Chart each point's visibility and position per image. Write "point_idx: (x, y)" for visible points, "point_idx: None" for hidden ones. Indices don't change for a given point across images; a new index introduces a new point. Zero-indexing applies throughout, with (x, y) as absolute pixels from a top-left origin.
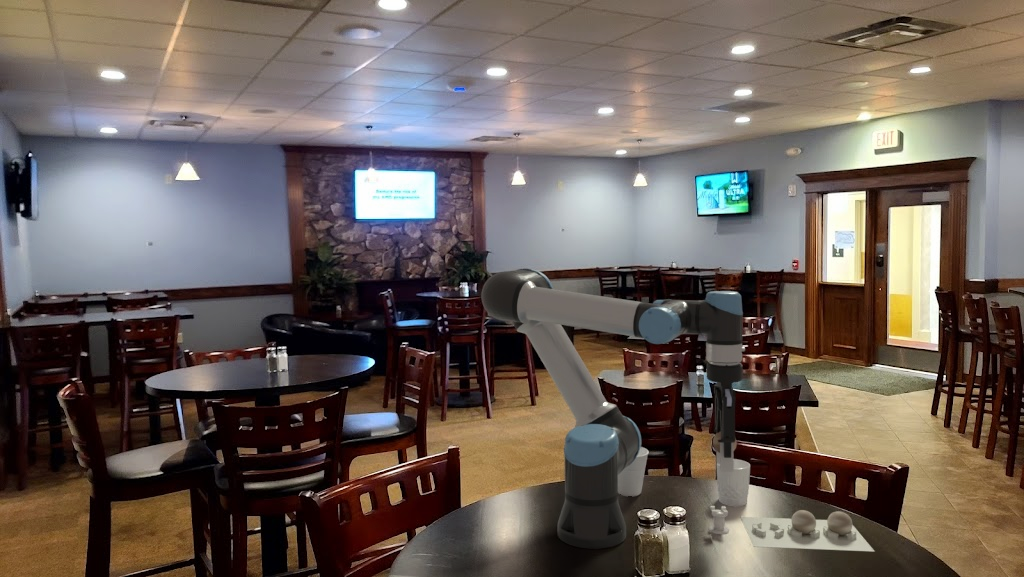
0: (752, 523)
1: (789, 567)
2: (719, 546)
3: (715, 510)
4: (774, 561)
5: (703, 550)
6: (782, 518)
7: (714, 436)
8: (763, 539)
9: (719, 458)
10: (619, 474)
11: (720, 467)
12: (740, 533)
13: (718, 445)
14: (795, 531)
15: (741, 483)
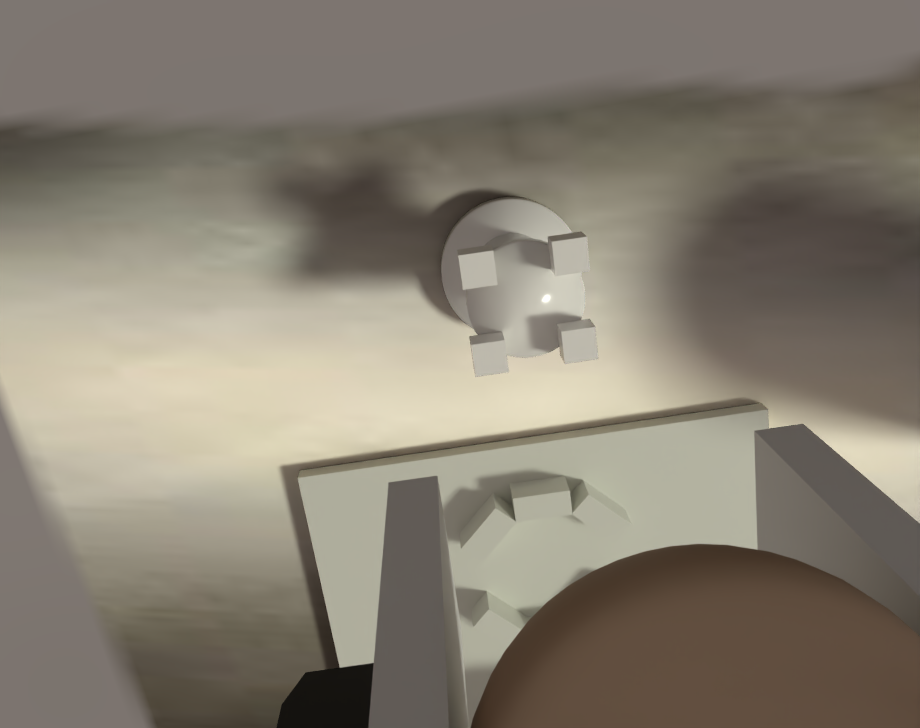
0: (663, 479)
1: (119, 631)
2: (280, 270)
3: (485, 279)
4: (169, 566)
5: (181, 165)
6: None
7: (820, 717)
8: None
9: (783, 498)
10: None
11: (401, 506)
12: (526, 399)
13: (507, 696)
14: None
15: None
